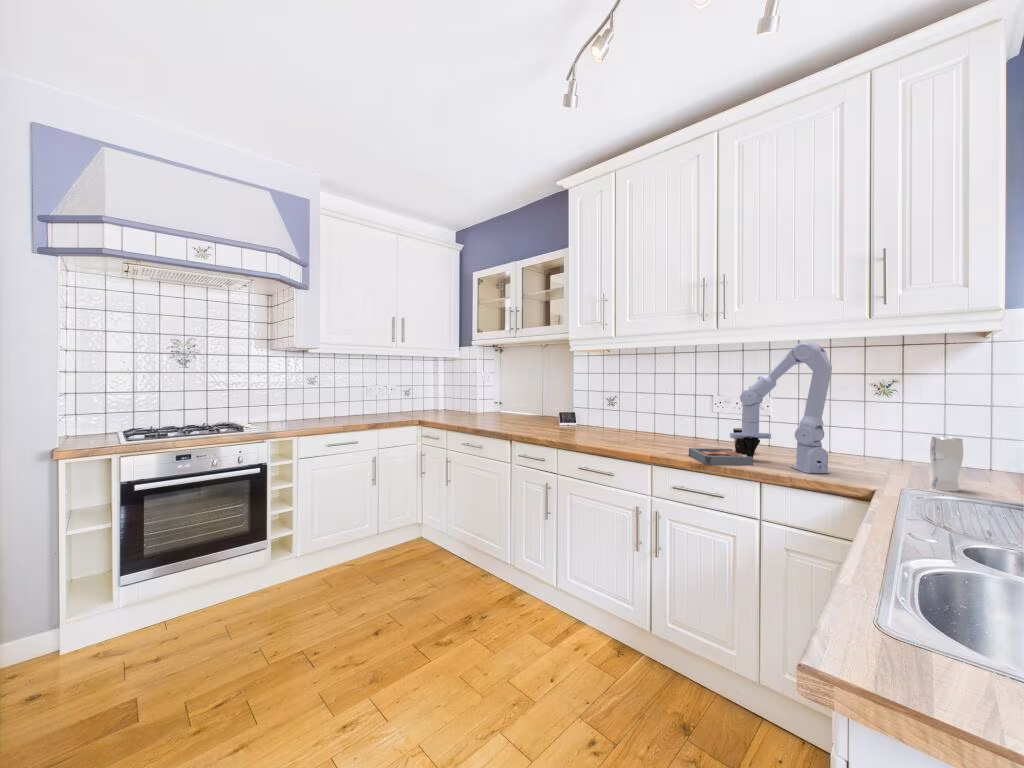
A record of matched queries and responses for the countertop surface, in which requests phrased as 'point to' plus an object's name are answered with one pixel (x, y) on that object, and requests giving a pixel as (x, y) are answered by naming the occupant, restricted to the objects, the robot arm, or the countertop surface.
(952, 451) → the beer glass
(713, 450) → the dock
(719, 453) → the t block
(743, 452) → the coffee mug
